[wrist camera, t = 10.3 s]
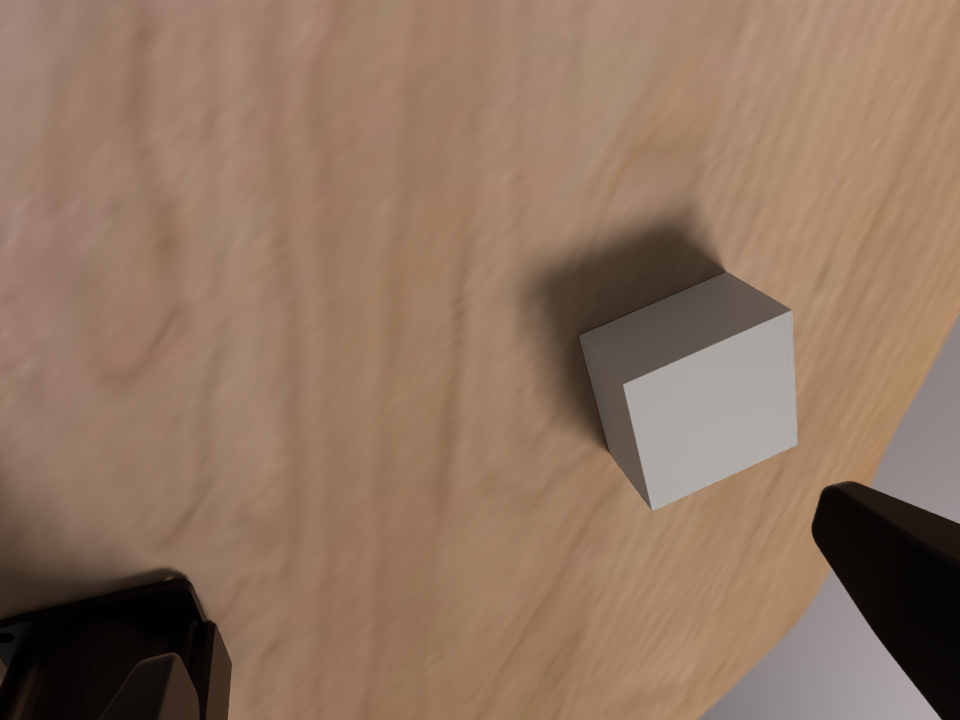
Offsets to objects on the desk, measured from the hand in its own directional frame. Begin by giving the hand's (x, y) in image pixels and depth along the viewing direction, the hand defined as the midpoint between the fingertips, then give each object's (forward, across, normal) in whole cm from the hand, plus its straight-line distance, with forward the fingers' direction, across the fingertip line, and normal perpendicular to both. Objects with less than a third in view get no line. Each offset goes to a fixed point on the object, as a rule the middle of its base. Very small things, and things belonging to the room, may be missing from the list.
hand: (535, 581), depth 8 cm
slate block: (+13, -10, +6) cm, 17 cm away
